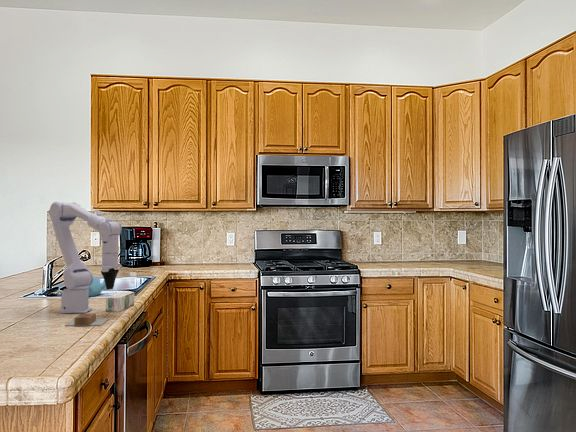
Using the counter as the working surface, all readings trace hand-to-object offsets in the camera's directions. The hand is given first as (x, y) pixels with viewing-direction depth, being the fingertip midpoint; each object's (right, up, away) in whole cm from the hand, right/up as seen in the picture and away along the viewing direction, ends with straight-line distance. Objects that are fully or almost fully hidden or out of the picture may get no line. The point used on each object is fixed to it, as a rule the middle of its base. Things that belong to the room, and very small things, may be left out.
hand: (109, 289), depth 180 cm
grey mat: (-3, -10, -13) cm, 17 cm away
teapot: (-27, -10, +46) cm, 54 cm away
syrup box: (0, -7, +21) cm, 22 cm away
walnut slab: (-3, -8, -12) cm, 15 cm away
